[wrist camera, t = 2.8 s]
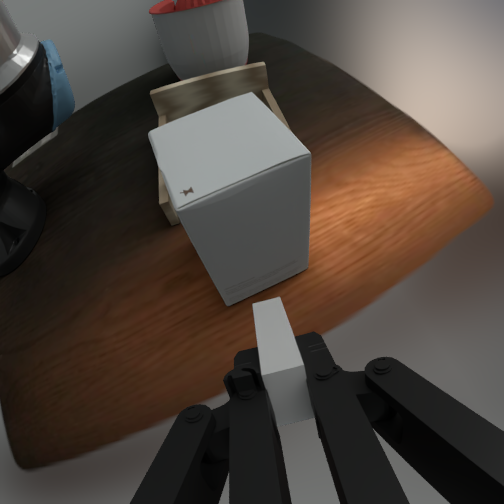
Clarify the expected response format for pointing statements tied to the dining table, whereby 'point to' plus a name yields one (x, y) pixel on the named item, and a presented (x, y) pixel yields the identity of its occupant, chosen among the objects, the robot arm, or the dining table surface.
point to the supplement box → (239, 193)
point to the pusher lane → (208, 104)
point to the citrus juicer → (202, 35)
